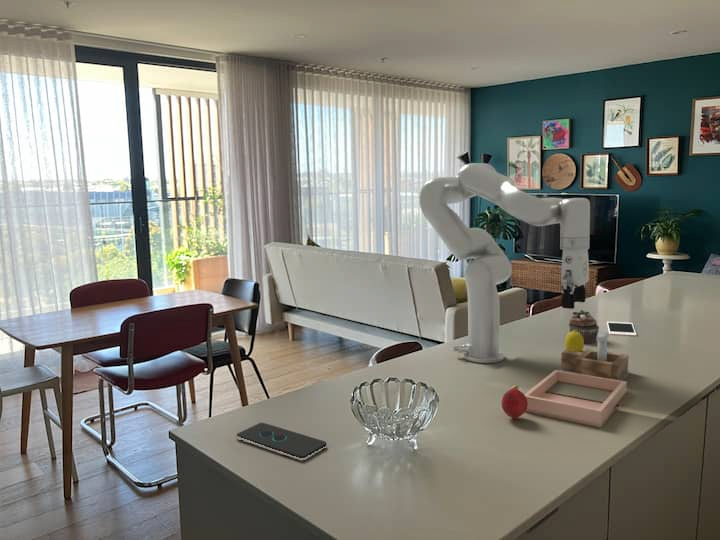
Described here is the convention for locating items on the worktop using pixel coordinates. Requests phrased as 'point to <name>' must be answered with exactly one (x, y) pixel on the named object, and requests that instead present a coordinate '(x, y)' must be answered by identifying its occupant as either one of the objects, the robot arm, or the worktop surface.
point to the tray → (575, 399)
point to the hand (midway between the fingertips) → (573, 304)
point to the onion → (514, 403)
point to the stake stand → (601, 350)
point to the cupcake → (584, 326)
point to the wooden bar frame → (595, 364)
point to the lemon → (574, 341)
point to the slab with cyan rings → (282, 440)
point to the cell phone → (621, 328)
